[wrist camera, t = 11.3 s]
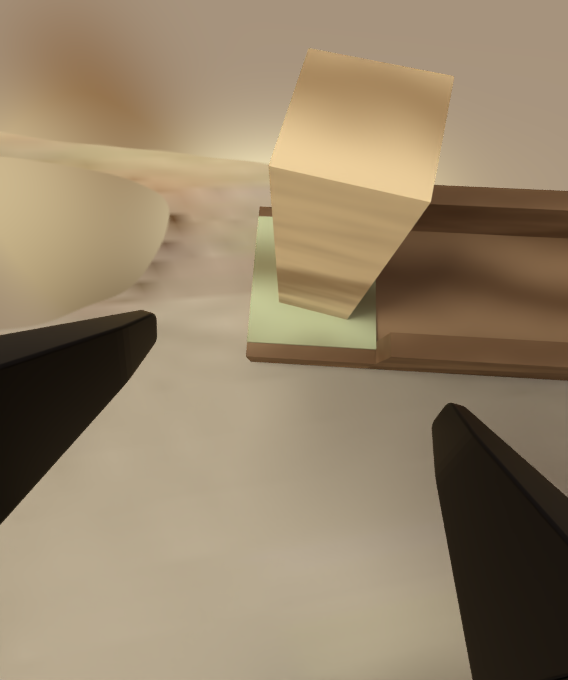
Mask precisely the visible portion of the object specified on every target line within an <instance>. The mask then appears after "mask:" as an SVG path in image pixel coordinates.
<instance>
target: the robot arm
mask: <svg viewBox="0 0 568 680" xmlns="http://www.w3.org/2000/svg"><path fill="white" fill-rule="evenodd" d="M156 339H157V320H156V316H155V314H153V313H151V312H147V311H144V310H138V311H133V312H127V313H121V314H116V315H110V316H105V317H99V318H94V319H88V320H83V321H77V322H71V323H66V324H60V325H55V326H49V327H44V328H38V329H33V330H27V331H21V332H16V333H10V334H5V335H0V524H1V523H2V522H3V521H4V520H5V519H6V518H7V517H8V516H9V514H10V513H11V512H12V511H13V510H14V509H15V508H16V507H17V505H18V504H19V503H20V502H21V501H22V500H23V499H24V498H25V496H26V495H27V494H28V493H29V492H30V491H31V490H32V489H33V487H34V486H35V485H36V484H37V483H38V482H39V481H40V480H41V478H42V477H43V476H44V475H45V474H46V473H47V472H48V471H49V469H50V468H51V467H52V466H53V465H54V464H55V463H56V462H57V460H58V459H59V458H60V457H61V456H62V455H63V454H64V453H65V452H66V450H67V449H68V448H69V447H70V446H71V445H72V444H73V443H74V441H75V440H76V439H77V438H78V437H79V436H80V435H81V434H82V432H83V431H84V430H85V429H86V428H87V427H88V426H89V425H90V423H91V422H92V421H93V420H94V419H95V418H96V417H97V416H98V414H99V413H100V412H101V411H102V410H103V409H104V408H105V407H106V405H107V404H108V403H109V402H110V401H111V400H112V399H113V398H114V396H115V395H116V394H117V393H118V392H119V391H120V390H121V389H122V388H123V386H124V385H125V384H126V383H127V382H128V380H129V379H130V378H131V376H132V375H133V374H134V372H135V371H136V369H137V368H138V367H139V365H140V364H141V362H142V361H143V360H144V358H145V357H146V355H147V354H148V353H149V351H150V350H151V348H152V347H153V345H154V344H155V342H156ZM432 439H433V453H434V467H435V477H436V484H437V490H438V495H439V501H440V506H441V511H442V517H443V522H444V528H445V533H446V538H447V544H448V549H449V555H450V560H451V566H452V571H453V576H454V582H455V587H456V593H457V598H458V603H459V609H460V614H461V620H462V625H463V631H464V636H465V641H466V647H467V652H468V658H469V663H470V669H471V674H472V679H473V680H568V497H566V496H565V495H564V494H563V493H562V492H561V491H560V490H559V489H557V488H556V487H555V486H554V485H553V484H552V483H551V482H549V481H548V480H547V479H546V478H545V477H544V476H543V475H542V474H540V473H539V472H538V471H537V470H536V469H535V468H534V467H532V466H531V465H530V464H529V463H528V462H527V461H526V460H524V459H523V458H522V457H521V456H520V455H519V454H518V453H517V452H515V451H514V450H513V449H512V448H511V447H510V446H509V445H507V444H506V443H505V442H504V441H503V440H502V439H501V438H500V437H498V436H497V435H496V434H495V433H494V432H493V431H492V430H490V429H489V428H488V427H487V426H486V425H485V424H484V423H483V422H481V421H480V420H479V419H478V418H477V417H476V416H475V415H473V414H472V413H471V412H470V411H469V410H468V409H467V408H465V407H464V406H461V405H457V404H454V403H448V404H446V405H445V407H444V408H443V409H442V411H441V412H440V413H439V415H438V416H437V417H436V419H435V420H434V422H433V424H432Z"/></svg>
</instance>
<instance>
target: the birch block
mask: <svg viewBox="0 0 568 680" xmlns="http://www.w3.org/2000/svg"><path fill="white" fill-rule="evenodd" d="M453 80H454V76H450V75H444V74H439V73H434V72H429V71H424V70H419V69H414V68H408V67H404V66H398V65H393V64H388V63H383V62H377V61H372V60H367V59H362V58H357V57H351V56H347V55H341V54H336V53H331V52H326V51H321V50H315V49H310V48H309V49H308V52H307V55H306V58H305V61H304V63H303V67H302V69H301V72H300V75H299V78H298V81H297V84H296V87H295V90H294V93H293V96H292V99H291V102H290V105H289V107H288V110H287V113H286V116H285V119H284V122H283V125H282V128H281V131H280V135H279V137H278V140H277V143H276V146H275V149H274V152H273V154H272V158H271V160H270V163H269V178H270V191H271V204H272V217H273V230H274V243H275V256H276V269H277V282H278V295H279V302H280V303H284V304H288V305H292V306H296V307H300V308H303V309H307V310H311V311H315V312H319V313H323V314H327V315H331V316H335V317H338V318H342V319H346V320H347V319H348V317H349V316H350V315H351V313H352V312H353V310H354V309H355V308H356V306H357V305H358V303H359V302H360V301H361V299H362V298H363V296H364V295H365V294H366V292H367V291H368V289H369V288H370V287H371V285H372V284H373V282H374V281H375V280H376V278H377V277H378V275H379V274H380V273H381V271H382V270H383V268H384V267H385V266H386V264H387V263H388V261H389V260H390V259H391V257H392V256H393V254H394V253H395V252H396V250H397V249H398V247H399V246H400V245H401V243H402V242H403V240H404V239H405V238H406V236H407V235H408V233H409V232H410V231H411V229H412V228H413V226H414V225H415V224H416V222H417V221H418V219H419V218H420V217H421V215H422V214H423V212H424V211H425V210H426V208H427V207H428V205H429V204H430V203H431V198H432V193H433V188H434V182H435V177H436V171H437V166H438V161H439V155H440V150H441V144H442V139H443V134H444V128H445V123H446V118H447V112H448V107H449V102H450V97H451V91H452V85H453Z"/></svg>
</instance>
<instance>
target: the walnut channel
mask: <svg viewBox="0 0 568 680" xmlns="http://www.w3.org/2000/svg"><path fill="white" fill-rule="evenodd" d="M246 357H247V358H248V359H249V360H250V361H252V362H268V363H285V364H301V365H318V366H335V367H351V368H368V369H385V370H401V371H418V372H434V373H451V374H468V375H484V376H501V377H518V378H534V379H551V380H567V381H568V191H554V190H531V189H509V188H488V187H464V186H444V185H434V188H433V193H432V198H431V203H430V204H429V205H428V207H427V208H426V210H425V211H424V212H423V214H422V215H421V217H420V218H419V219H418V221H417V222H416V224H415V225H414V226H413V228H412V229H411V231H410V232H409V233H408V235H407V236H406V238H405V239H404V240H403V242H402V243H401V245H400V246H399V247H398V249H397V250H396V252H395V253H394V254H393V256H392V257H391V259H390V260H389V261H388V263H387V264H386V266H385V267H384V268H383V270H382V271H381V273H380V274H379V275H378V277H377V278H376V280H375V281H374V282H373V284H372V285H371V287H370V288H369V289H368V291H367V292H366V294H365V295H364V296H363V298H362V299H361V301H360V302H359V303H358V305H357V306H356V308H355V309H354V310H353V312H352V313H351V315H350V316H349V317H348V319H347V320H346V319H342V318H338V317H335V316H331V315H327V314H323V313H319V312H315V311H311V310H307V309H303V308H300V307H296V306H292V305H288V304H284V303H280V302H279V295H278V282H277V269H276V256H275V243H274V230H273V217H272V207H260V210H259V217H258V228H257V238H256V249H255V260H254V271H253V282H252V292H251V303H250V314H249V325H248V336H247V351H246Z"/></svg>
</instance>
